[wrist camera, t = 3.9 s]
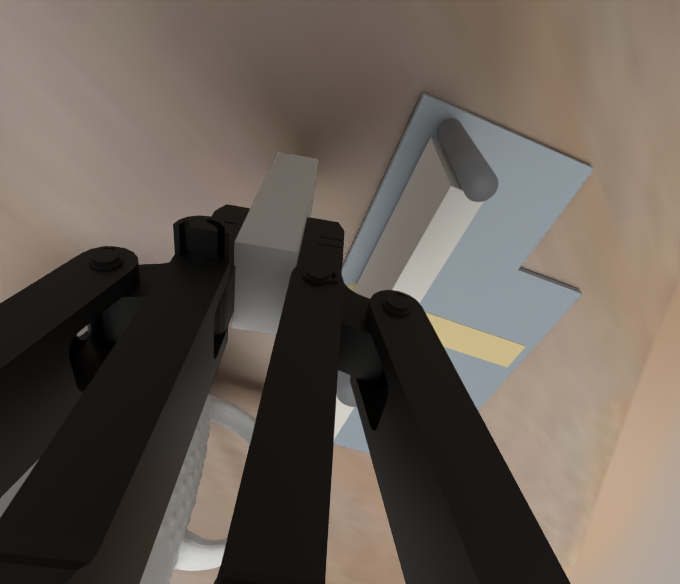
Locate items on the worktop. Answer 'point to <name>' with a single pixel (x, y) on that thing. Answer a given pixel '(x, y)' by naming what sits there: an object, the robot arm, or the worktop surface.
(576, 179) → the card
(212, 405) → the mug
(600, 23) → the worktop surface
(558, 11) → the worktop surface
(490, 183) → the panel
